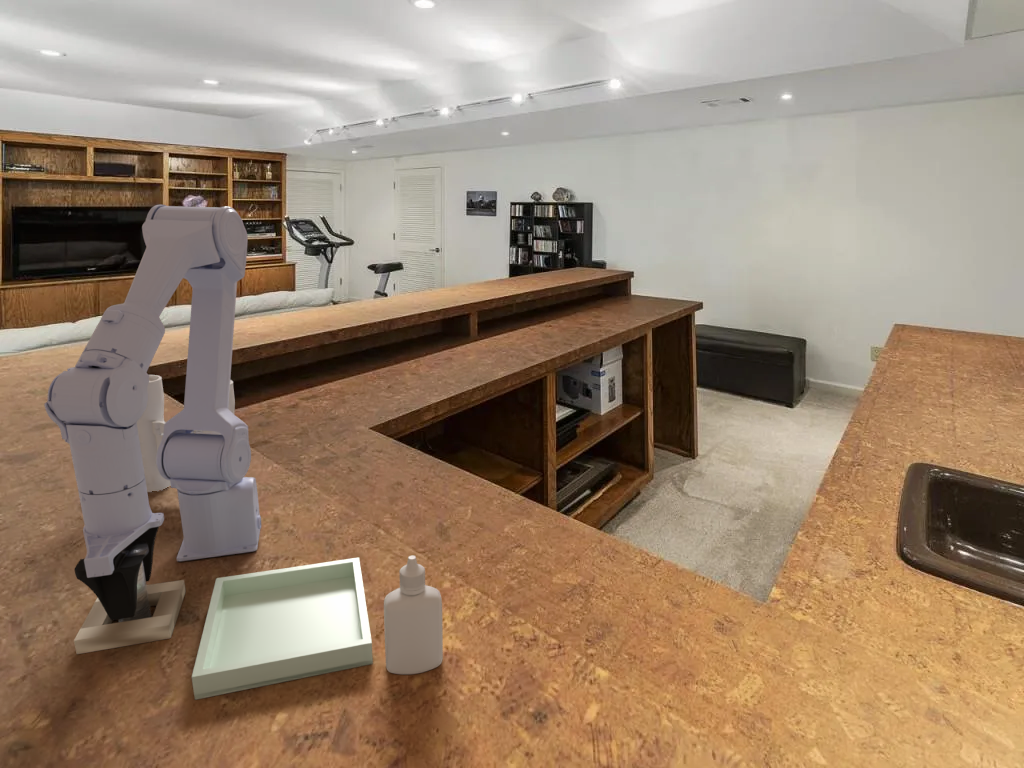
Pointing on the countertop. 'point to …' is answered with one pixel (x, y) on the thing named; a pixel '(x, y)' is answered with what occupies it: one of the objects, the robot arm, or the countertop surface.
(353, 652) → the tray
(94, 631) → the pin collar
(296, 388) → the countertop surface
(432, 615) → the eye dropper bottle
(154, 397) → the binoculars
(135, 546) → the pin
